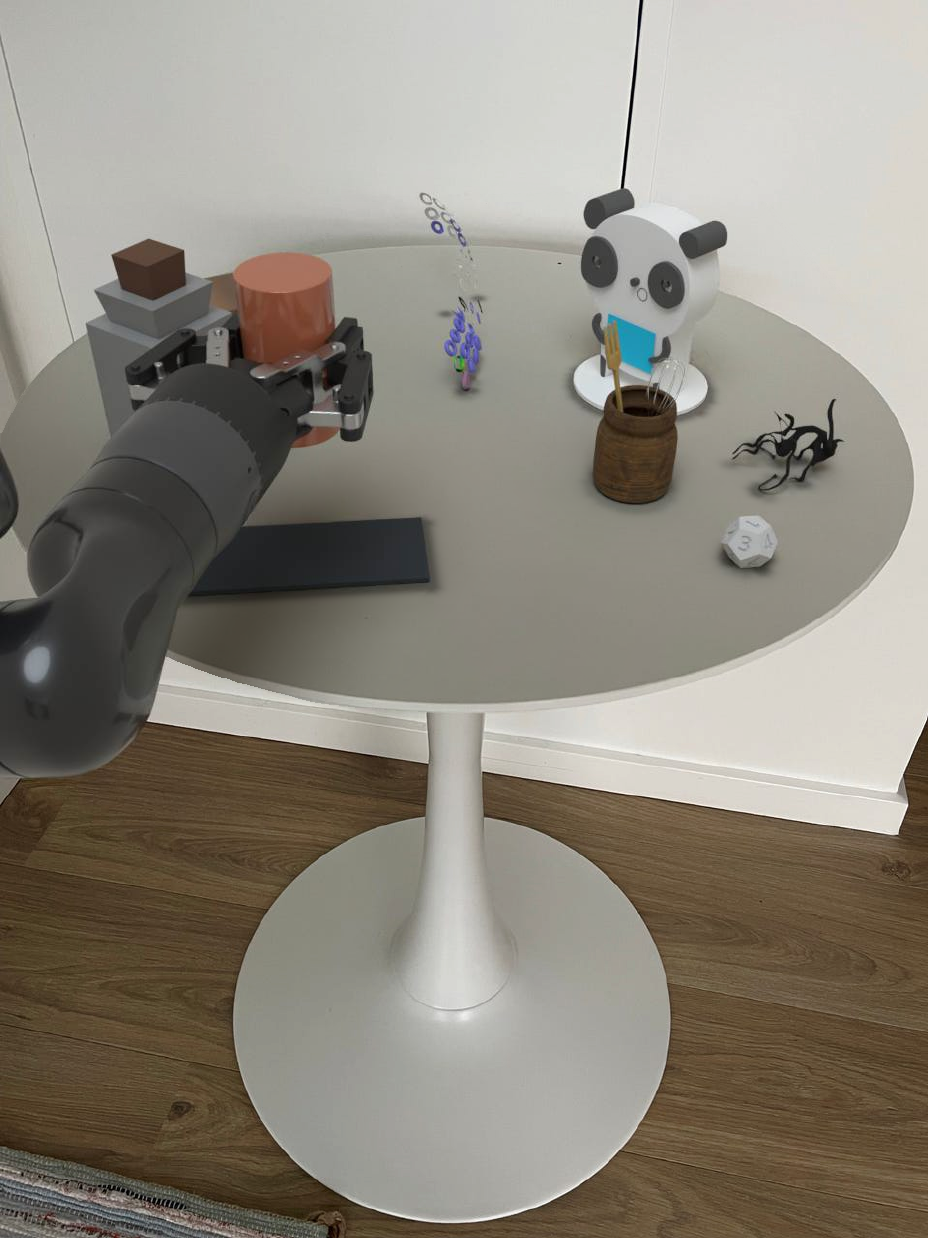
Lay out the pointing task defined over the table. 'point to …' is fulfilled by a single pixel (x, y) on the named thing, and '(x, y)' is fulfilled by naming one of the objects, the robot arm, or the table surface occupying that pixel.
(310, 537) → the mat
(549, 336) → the table surface
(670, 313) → the panda figurine
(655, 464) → the utensil holder
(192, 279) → the perfume bottle
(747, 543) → the game die
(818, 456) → the creature
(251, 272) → the canister
